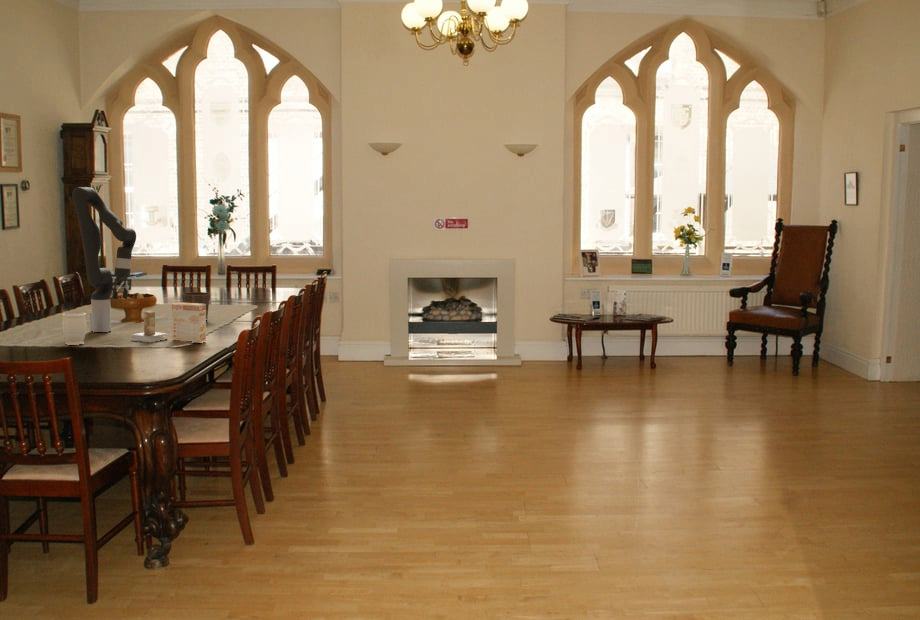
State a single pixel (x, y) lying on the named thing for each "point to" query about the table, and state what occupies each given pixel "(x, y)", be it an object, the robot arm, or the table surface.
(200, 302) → the plant pot
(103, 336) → the table surface
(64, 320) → the jar
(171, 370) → the table surface
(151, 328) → the peg
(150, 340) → the socket block
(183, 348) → the table surface
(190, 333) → the coffeecake box
